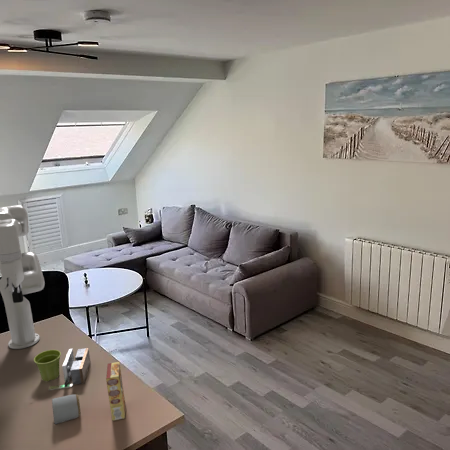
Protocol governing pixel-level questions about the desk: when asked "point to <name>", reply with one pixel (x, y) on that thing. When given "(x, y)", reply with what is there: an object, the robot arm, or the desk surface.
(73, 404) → the ceramic mug
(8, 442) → the desk surface
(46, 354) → the plant pot
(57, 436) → the desk surface
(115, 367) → the candy box
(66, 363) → the grey flat bar
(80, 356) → the grey slotted box
